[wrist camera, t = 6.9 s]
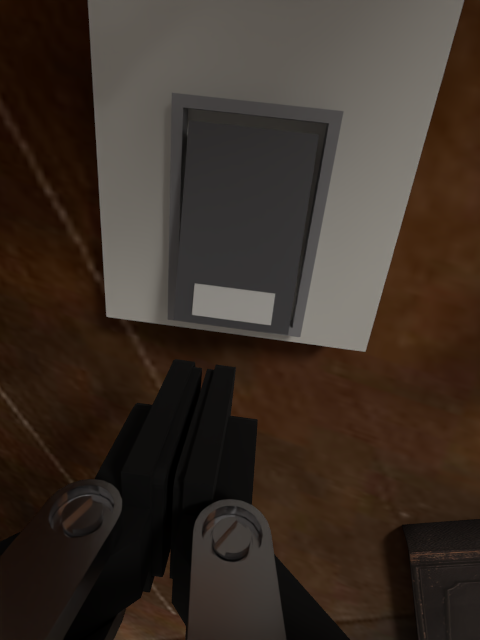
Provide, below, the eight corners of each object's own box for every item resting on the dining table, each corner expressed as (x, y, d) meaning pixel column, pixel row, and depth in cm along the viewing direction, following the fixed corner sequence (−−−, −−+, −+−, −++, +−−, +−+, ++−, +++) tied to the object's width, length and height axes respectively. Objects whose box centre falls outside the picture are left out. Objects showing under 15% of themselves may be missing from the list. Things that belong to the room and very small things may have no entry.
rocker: (194, 127, 14) (188, 119, 13) (315, 140, 14) (319, 134, 13) (179, 313, 16) (172, 320, 15) (287, 328, 16) (288, 335, 15)
